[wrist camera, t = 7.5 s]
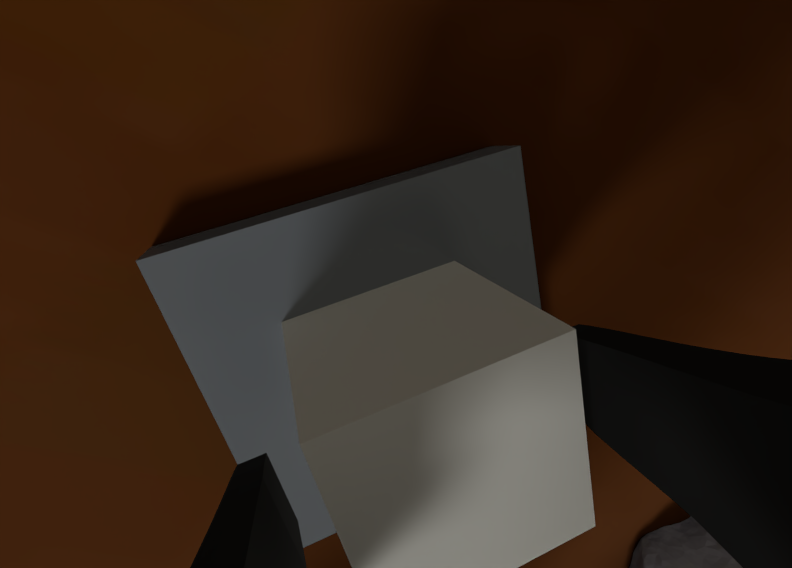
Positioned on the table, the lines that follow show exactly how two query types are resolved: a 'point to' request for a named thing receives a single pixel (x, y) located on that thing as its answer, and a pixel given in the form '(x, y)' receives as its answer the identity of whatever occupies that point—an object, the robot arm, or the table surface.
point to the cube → (442, 423)
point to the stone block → (681, 548)
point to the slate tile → (327, 287)
